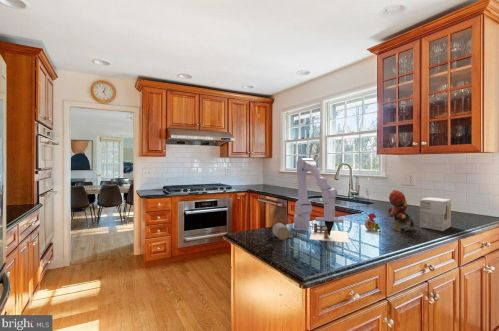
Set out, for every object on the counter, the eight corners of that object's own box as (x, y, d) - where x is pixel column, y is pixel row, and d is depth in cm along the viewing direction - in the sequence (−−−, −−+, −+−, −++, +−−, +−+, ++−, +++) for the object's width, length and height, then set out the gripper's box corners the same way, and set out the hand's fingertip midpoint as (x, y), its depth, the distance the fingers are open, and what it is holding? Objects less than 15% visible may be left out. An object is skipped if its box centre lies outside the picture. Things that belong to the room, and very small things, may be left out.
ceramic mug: (277, 241, 142) (277, 226, 142) (272, 236, 150) (272, 223, 150) (295, 239, 145) (296, 225, 144) (289, 235, 152) (290, 222, 152)
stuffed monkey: (409, 231, 154) (398, 189, 159) (384, 232, 169) (375, 193, 174) (425, 227, 161) (414, 186, 165) (399, 228, 176) (390, 190, 180)
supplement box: (444, 231, 161) (444, 201, 161) (419, 227, 171) (419, 199, 171) (451, 226, 173) (451, 198, 172) (427, 223, 183) (427, 196, 182)
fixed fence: (313, 232, 157) (313, 224, 157) (314, 231, 159) (314, 223, 159) (328, 233, 155) (328, 225, 155) (328, 232, 156) (328, 224, 156)
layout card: (309, 240, 143) (309, 238, 143) (312, 230, 164) (312, 229, 164) (349, 243, 137) (349, 242, 137) (347, 232, 158) (347, 231, 158)
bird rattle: (373, 235, 159) (383, 228, 163) (367, 219, 158) (378, 212, 161) (365, 233, 165) (375, 226, 168) (359, 217, 163) (369, 210, 167)
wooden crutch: (325, 232, 155) (325, 225, 155) (328, 233, 154) (328, 225, 154) (324, 238, 145) (324, 229, 145) (327, 238, 144) (327, 230, 144)
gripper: (315, 211, 146) (315, 235, 146) (343, 212, 141) (343, 238, 141) (316, 208, 152) (316, 232, 152) (343, 210, 148) (343, 234, 148)
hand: (329, 235), depth 147 cm, fingers closed
